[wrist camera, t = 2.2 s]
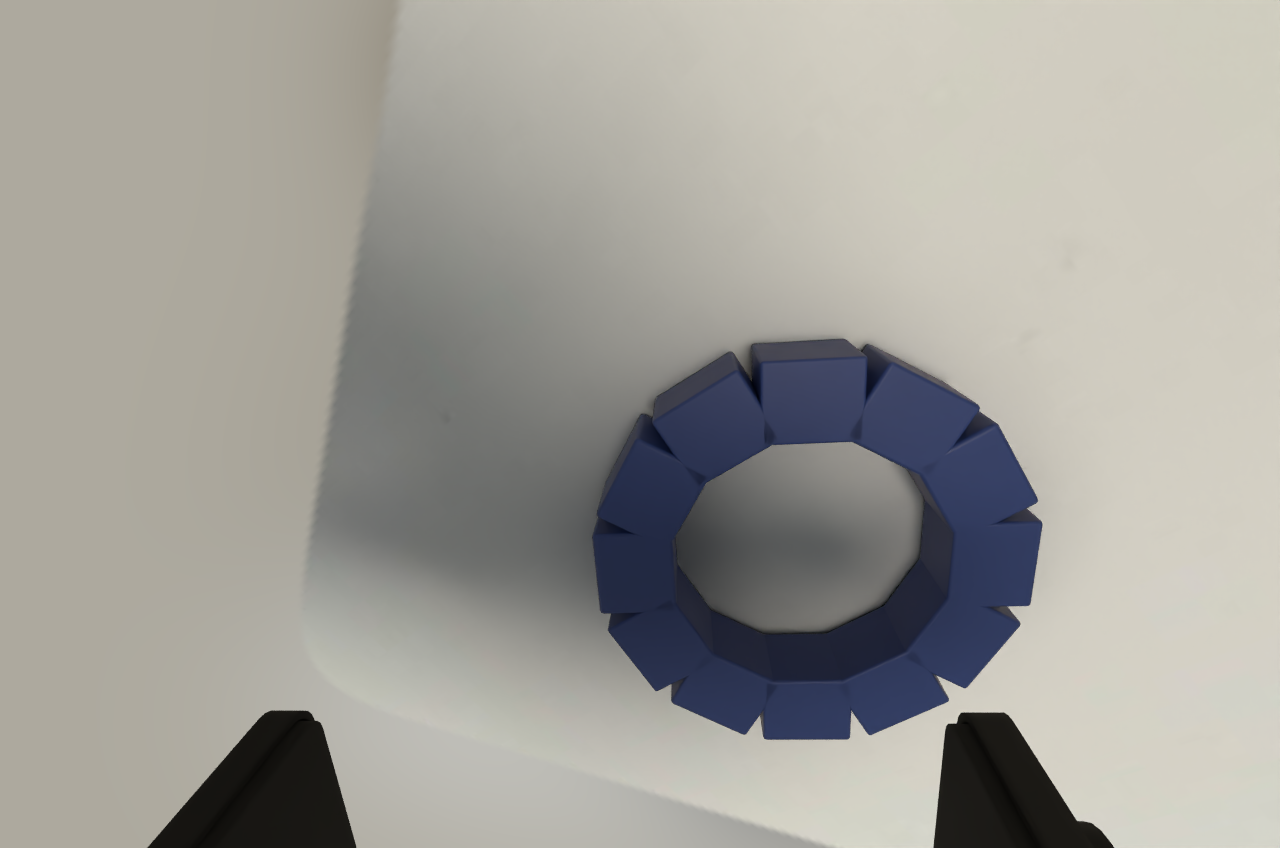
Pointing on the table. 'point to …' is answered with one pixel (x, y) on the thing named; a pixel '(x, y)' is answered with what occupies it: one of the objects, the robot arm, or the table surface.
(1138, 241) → the table surface
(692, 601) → the blue segmented bracelet
